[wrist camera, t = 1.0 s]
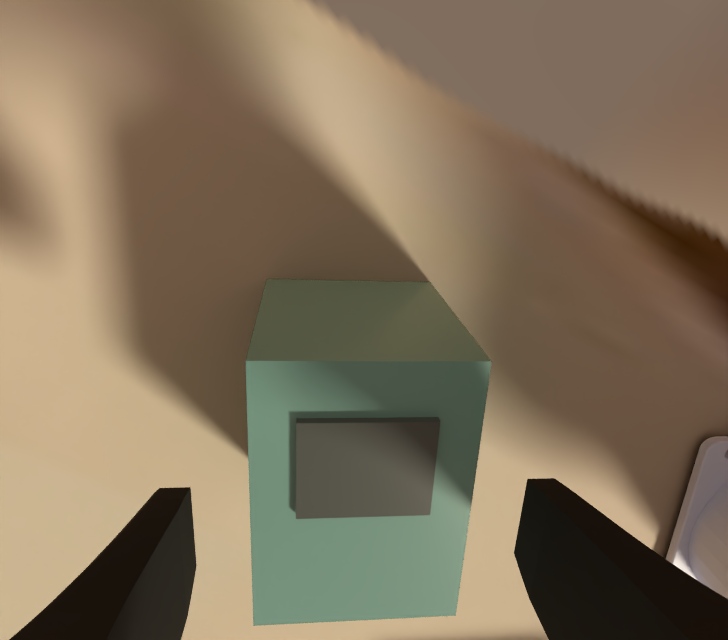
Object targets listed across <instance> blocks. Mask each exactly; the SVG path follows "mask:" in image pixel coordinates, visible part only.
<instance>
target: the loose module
mask: <svg viewBox="0 0 728 640" xmlns="http://www.w3.org/2000/svg"><path fill="white" fill-rule="evenodd" d="M491 362H492V361H491V360H490V359H489V358H488V356H487V355H486V354H485V352H484V351H483V350H482V348H481V347H480V346H479V345H478V343H477V342H476V341H475V339H474V338H473V337H472V336H471V334H470V333H469V332H468V330H467V329H466V328H465V326H464V325H463V324H462V323H461V321H460V320H459V319H458V317H457V316H456V315H455V314H454V312H453V311H452V310H451V308H450V307H449V306H448V304H447V303H446V302H445V301H444V299H443V298H442V297H441V295H440V294H439V293H438V292H437V290H436V289H435V288H434V286H433V285H432V284H431V282H398V281H347V280H296V279H267V281H266V284H265V288H264V292H263V296H262V300H261V304H260V307H259V311H258V315H257V319H256V323H255V327H254V330H253V334H252V338H251V342H250V346H249V349H248V353H247V357H246V393H247V426H248V459H249V492H250V525H251V558H252V591H253V624H254V626H256V625H276V624H296V623H316V622H336V621H356V620H375V619H395V618H415V617H435V616H455V615H456V609H457V602H458V595H459V588H460V581H461V574H462V567H463V560H464V553H465V546H466V539H467V531H468V524H469V517H470V510H471V503H472V496H473V489H474V482H475V475H476V468H477V461H478V454H479V447H480V440H481V433H482V426H483V419H484V412H485V404H486V397H487V390H488V383H489V376H490V369H491Z"/></svg>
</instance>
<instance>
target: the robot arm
mask: <svg viewBox="0 0 728 640" xmlns="http://www.w3.org/2000/svg"><path fill="white" fill-rule="evenodd" d="M727 450H728V436H715V437H710V438H708V439H707V440H705V441H704V442H703V443H702V444H701V446H700V448H699V452H698V455H697V458H696V461H695V465H694V468H693V471H692V475H691V478H690V481H689V484H688V488H687V491H686V494H685V497H684V501H683V504H682V507H681V511H680V514H679V517H678V520H677V524H676V527H675V530H674V533H673V537H672V540H671V543H670V547H669V550H668V553H667V556H666V559H664V558H663V557H661V556H660V555H659V554H657V553H656V552H654V551H653V550H651V549H650V548H649V547H647V546H646V545H644V544H643V543H641V542H640V541H639V540H637V539H636V538H635V537H633V536H632V535H630V534H629V533H628V532H626V531H625V530H624V529H622V528H621V527H620V526H618V525H617V524H616V523H614V522H613V521H612V520H610V519H609V518H607V517H606V516H605V515H604V514H602V513H601V512H600V511H598V510H597V509H596V508H594V507H593V506H592V505H590V504H589V503H588V502H586V501H585V500H584V499H582V498H581V497H580V496H578V495H577V494H576V493H574V492H573V491H571V490H570V489H569V488H567V487H566V486H565V485H563V484H562V483H560V482H559V481H557V480H556V479H554V478H551V479H528V480H527V485H526V490H525V496H524V501H523V507H522V512H521V518H520V523H519V529H518V534H517V540H516V545H515V551H514V554H515V557H516V560H517V563H518V567H519V570H520V573H521V576H522V579H523V582H524V585H525V587H526V590H527V593H528V596H529V599H530V601H531V603H532V605H533V607H534V609H535V612H536V614H537V616H538V618H539V620H540V622H541V624H542V626H543V628H544V631H545V633H546V635H547V637H548V639H549V640H728V451H727ZM726 451H727V452H726ZM195 571H196V555H195V542H194V529H193V516H192V503H191V489H190V487H189V488H159V489H158V490H157V491H156V492H155V493H154V494H153V495H152V496H151V497H150V499H149V500H148V501H147V502H146V503H145V504H144V506H143V507H142V508H141V509H140V510H139V511H138V512H137V514H136V515H135V516H134V517H133V518H132V519H131V520H130V522H129V523H128V524H127V525H126V526H125V527H124V528H123V529H122V531H121V532H120V533H119V534H118V535H117V536H116V537H115V538H114V539H113V540H112V542H111V543H110V544H109V545H108V546H107V547H106V548H105V549H104V550H103V551H102V552H101V553H100V554H99V555H98V556H97V557H96V559H95V560H94V561H93V562H92V563H91V564H90V565H89V566H88V567H87V568H86V569H85V570H84V571H83V572H82V573H81V574H80V575H79V576H78V577H77V578H76V579H75V580H74V581H73V582H72V583H71V584H70V585H69V586H68V587H67V588H66V589H65V590H64V591H63V592H61V593H60V594H59V595H58V596H57V597H56V598H55V599H54V600H53V601H52V602H51V603H50V604H49V605H48V606H47V607H46V608H45V609H44V610H43V611H41V612H40V613H39V614H38V615H37V616H36V617H35V618H34V619H33V620H32V621H30V622H29V623H28V624H27V625H26V626H25V627H24V628H22V629H21V630H20V631H19V632H18V633H17V634H16V635H14V636H13V637H12V638H11V639H10V640H181V637H182V634H183V630H184V627H185V623H186V620H187V616H188V610H189V605H190V600H191V594H192V588H193V582H194V577H195Z"/></svg>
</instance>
